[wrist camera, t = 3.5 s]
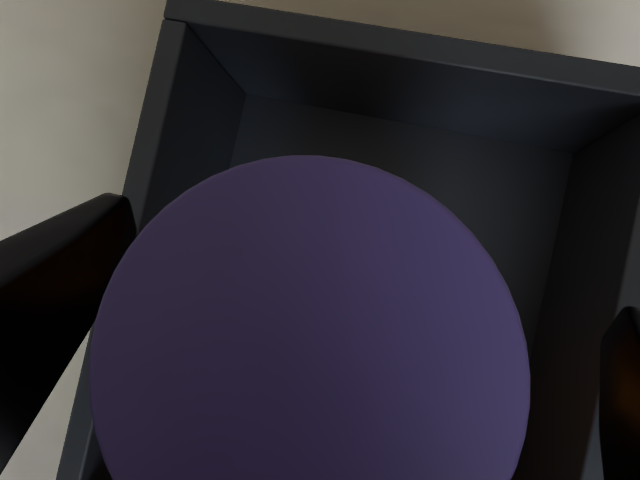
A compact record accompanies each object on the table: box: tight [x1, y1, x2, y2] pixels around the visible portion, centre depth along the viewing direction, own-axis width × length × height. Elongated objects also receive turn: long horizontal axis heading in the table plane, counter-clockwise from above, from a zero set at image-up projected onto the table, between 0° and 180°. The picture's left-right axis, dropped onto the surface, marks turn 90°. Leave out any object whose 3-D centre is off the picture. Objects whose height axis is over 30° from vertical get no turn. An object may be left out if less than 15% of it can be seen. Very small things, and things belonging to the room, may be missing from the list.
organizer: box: [56, 0, 640, 480], centre depth 14 cm, size 12×11×6 cm
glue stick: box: [88, 155, 530, 480], centre depth 10 cm, size 4×4×12 cm
